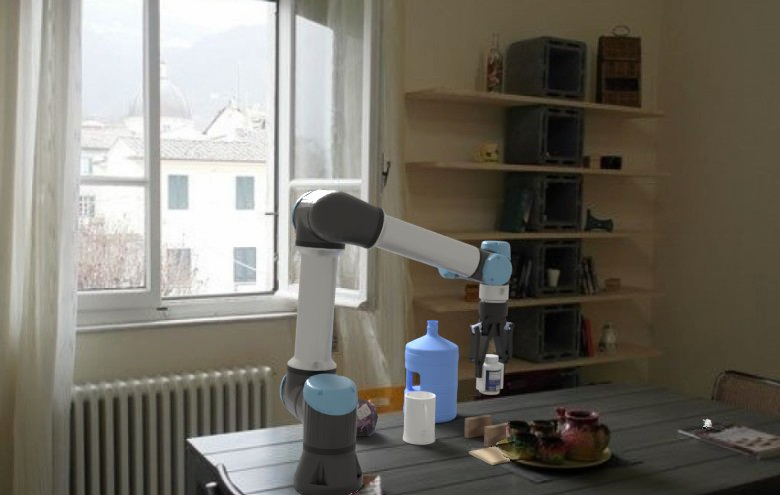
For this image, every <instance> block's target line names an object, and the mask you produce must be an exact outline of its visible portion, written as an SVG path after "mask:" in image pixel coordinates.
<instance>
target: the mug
mask: <svg viewBox="0 0 780 495" xmlns="http://www.w3.org/2000/svg"><path fill="white" fill-rule="evenodd" d="M435 403H436V395H435V394H433V393H430V392H423V391H413V392H408V393H406V394H405V414H404V413H403V416H404V417H403V418H404V419H403V422H404V423H403V436H402V440H403V441H404V442H405V443H406V444H407V443H408V444H410V445H415V446H416V445H417V446H426V445H430V444H433V443H435V442H436V435H435V432H436V430H435V429H436V427H435V426H436V423H435Z"/></svg>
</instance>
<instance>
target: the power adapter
mask: <svg viewBox="0 0 780 495" xmlns="http://www.w3.org/2000/svg"><path fill="white" fill-rule="evenodd" d="M702 421H703V422H704V425H703V426H702V428H703V427H706V426H707V427H712V426H713V423H712V420H711V419H708V418H706V419H702ZM707 427H706V428H707ZM712 428H713V427H712Z"/></svg>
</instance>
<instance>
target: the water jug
mask: <svg viewBox="0 0 780 495" xmlns="http://www.w3.org/2000/svg"><path fill="white" fill-rule="evenodd" d="M426 323H427V326H426V329H427V330H426V331H427V332H426V334H425V335H423V336H421V337H418V338H416V339H414V340H412V341H409V342H407V343H406V344H405V351H404V360H405V362H404V367H405V369H406V372H405V373H406V376H405V377H406V378H405V382H406V383H405V389H404V393H403V394H404V396H403V408H402V410H403V411H402V412H403V415H404V414H405V394H406V393H408V392H413V391H423V392H430V393H433V394H435V395H436V403H435V424H436V423H437V424H439V423H440V424H441V423H447V422H450V421H452V420H454V419H455V418H456V417H457V413H458V410H457V409H458V408H457V405H458V404H457V402H458V400H457V398H458V396H457V395H458V387H459V386H458V384H459V382H458V381H459V380H458V376H459V374H458V373H459V372H458V371H459V370H458V368H459V367H458V366H459V358H460V353H459V346H458V345H457V344H456V343H454V342H452V341H450V340H448V339H446V338H444V337H442V336H440V334H439V332H438V330H439V324H438V323H439V321H438V320H435V319H432V320H431V319H430V320H427V322H426ZM413 373H416V374H417V373H418V374H419V376H420V379H419V382H420V383H419V385H413Z"/></svg>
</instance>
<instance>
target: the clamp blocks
mask: <svg viewBox="0 0 780 495" xmlns="http://www.w3.org/2000/svg"><path fill="white" fill-rule="evenodd" d="M492 421H493V415H491V414H484V415H482V414H481V415H477V416H471V417H466V418H464V432H463V434H464V436H463V438H467V439H472V438H477V437H482V436H483V438H484V439H483V446H484V447H486V448H489V447H491V446H492V447H494V445H496V443H497V442H499V441H501V440H504V439H506V427H507V424H508V423H509V422H504V423H498V424H492V423H493V422H492Z"/></svg>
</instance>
